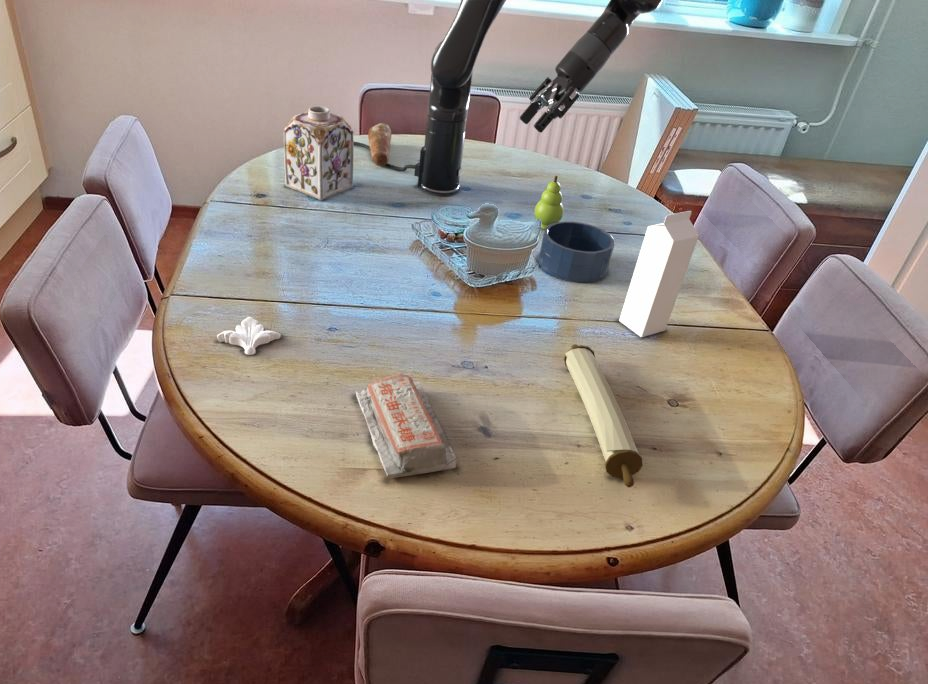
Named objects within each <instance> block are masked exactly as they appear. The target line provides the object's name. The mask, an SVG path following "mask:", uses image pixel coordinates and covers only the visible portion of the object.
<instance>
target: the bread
mask: <svg viewBox="0 0 928 684" xmlns="http://www.w3.org/2000/svg"><path fill="white" fill-rule="evenodd" d="M367 137H368V139H367V140H368V146H370V150H371V154H370V157H371V156H372V157H371V159H372V162H373V163H374V165H375V166H378V167H385V165H386V164H387V163H388V162H389V157H390V149H391V142H392V130H391V127H390V126H389V124H388V123H384V122H379V123H377V124H375V125H374V126H371V127H370V128H369V129H368V133H367ZM388 164H389V163H388Z"/></svg>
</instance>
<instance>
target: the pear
mask: <svg viewBox="0 0 928 684" xmlns="http://www.w3.org/2000/svg"><path fill="white" fill-rule="evenodd" d="M561 189H562V186H561V184H560V182H558V175H554V178H553V181H550V182H548V184H547V186H546V189H545V190H544V191H543V192H542V193H541V197H540V200H539V201H538V202H537V203H536V204H535V207H534V213H533V214H534V218H535V219H541V221H542V227H541V228H540V229H542V230H545V228H546V227H547V226H548V225H551V224H553V223H556V222H561V220H562V218H563V216H564V205H563V203H562V202H563V194H562V192H561Z"/></svg>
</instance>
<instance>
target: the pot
mask: <svg viewBox="0 0 928 684" xmlns="http://www.w3.org/2000/svg"><path fill="white" fill-rule="evenodd" d="M543 230H544V231H543V235H542V240H541V245H540V248H539V249H540V250H539V255H538V264H539V266H540V267H541V269H542V270H543V271H545V272H546V273H547V274H549V275H551V276H552V277H555V278H557V279H560V280H564V281H568V282H572V283H593V282H597V281H599V280H601V279H603V278H605V276H606V275H607V272H608V270H609V267H610V263H611V259H612V256H613V252H614V249H615V244H616V243H615V238H614V237H613V236H612V235H611V234H610V233H609V232H607V231H606V230H604V229H603V228H600V227H599V226H596V225H592V224H589V223H585V222H579V221H571V220H570V221H568V220H567V221H566V220H565V221H563V220H562V221H559V222H556V223H553V224H551V225H548V226H547V227H546V228H545V229H543Z"/></svg>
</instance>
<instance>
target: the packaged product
mask: <svg viewBox="0 0 928 684" xmlns="http://www.w3.org/2000/svg"><path fill="white" fill-rule="evenodd" d="M355 393H356V394H355V395H356V400H357V402H358V404H359V407H360V410H361V412H362V414H363V416H364V419H365V421H366V425H367V428H368V430H369V433H370V437H371V441H372V445H373V447H374V448H375V451H376V452H377V454H378V457H379V461H380V463H381V465H382V468H383V469H384V472H385V474H386V477H387V479H388V480H389V479H390V480H391V479H395V478H396V479H397V478H403V477H409V476H416V475H421V474H427V473H434V472H439V471H447V470H452V469H456V466H457V461H458V457H456V455H455V452H454V451H453V449H452V446H451V444H450V442H449V440H448V438H447V436H446V435H445V432H444V430H443V428H442V426H441V424H440V422H439V420H438V418H437V415H436V414H435V412H434V410H433V407H432V406H431V404H430V402H429V399H428V397H427V395H426V393H425V391H424V390H423V387H422V386H421V383H420V381H419V380H417V381H416V380H415V381H414V380H413V378H412V376H411V374H407V373H402V372H399V373H393V374H391V375H389V376H386V377H383V378H381V379H380V378H379V379H376V380H374V381H372V382H369V384H368V385H367V388H366V389H362V390H355Z"/></svg>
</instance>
